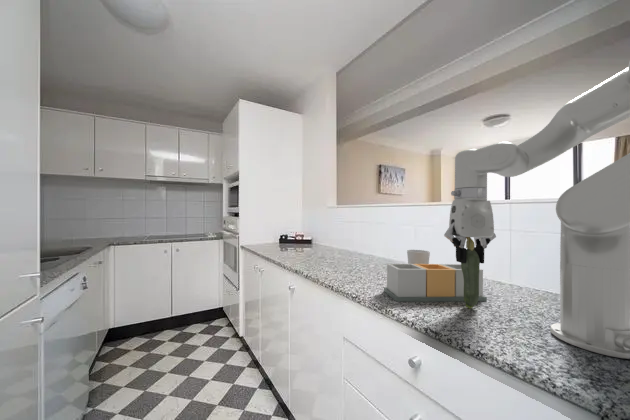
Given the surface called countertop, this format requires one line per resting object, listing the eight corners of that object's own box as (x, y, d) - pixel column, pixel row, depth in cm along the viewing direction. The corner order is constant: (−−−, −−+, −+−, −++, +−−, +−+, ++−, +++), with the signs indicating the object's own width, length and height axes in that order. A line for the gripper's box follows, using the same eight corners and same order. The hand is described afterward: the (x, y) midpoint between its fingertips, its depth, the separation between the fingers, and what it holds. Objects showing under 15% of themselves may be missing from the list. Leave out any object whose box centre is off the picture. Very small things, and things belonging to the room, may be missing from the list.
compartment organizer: (486, 301, 73) (486, 270, 73) (396, 301, 71) (396, 269, 71) (463, 290, 83) (463, 263, 83) (383, 291, 81) (384, 263, 81)
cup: (425, 280, 96) (425, 250, 96) (432, 286, 88) (433, 253, 88) (404, 279, 97) (404, 249, 97) (410, 285, 89) (410, 252, 89)
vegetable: (483, 312, 64) (483, 236, 65) (466, 312, 64) (466, 235, 65) (472, 306, 69) (473, 235, 69) (457, 305, 69) (457, 234, 69)
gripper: (449, 193, 63) (449, 264, 62) (510, 195, 64) (510, 265, 64) (433, 195, 70) (432, 259, 70) (488, 197, 72) (487, 260, 71)
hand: (469, 261), depth 67 cm, fingers closed on vegetable, 4 cm apart
